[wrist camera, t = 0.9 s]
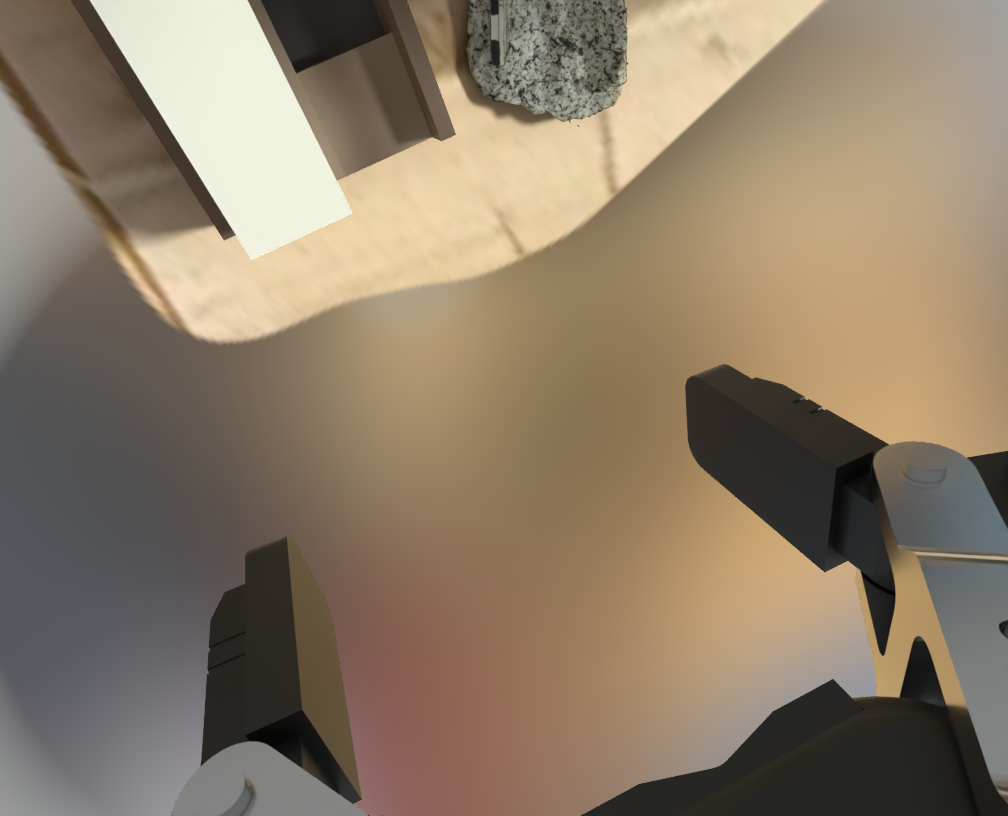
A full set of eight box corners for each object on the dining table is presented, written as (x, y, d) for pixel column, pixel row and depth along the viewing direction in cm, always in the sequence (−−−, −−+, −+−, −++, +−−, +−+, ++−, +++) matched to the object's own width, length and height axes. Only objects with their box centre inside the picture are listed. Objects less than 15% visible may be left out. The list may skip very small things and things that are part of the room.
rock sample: (417, -47, 27) (613, -40, 24) (480, -125, 30) (657, -126, 28) (461, 155, 36) (608, 175, 33) (506, 77, 39) (642, 90, 37)
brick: (220, -45, 26) (207, -81, 20) (333, 181, 32) (352, 213, 25) (120, -4, 26) (73, -28, 19) (253, 218, 31) (251, 260, 25)
